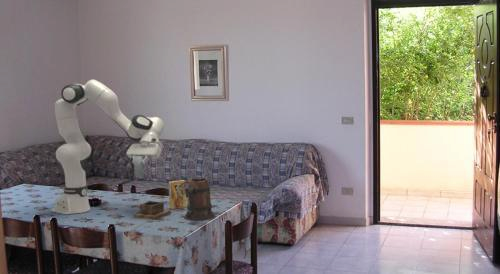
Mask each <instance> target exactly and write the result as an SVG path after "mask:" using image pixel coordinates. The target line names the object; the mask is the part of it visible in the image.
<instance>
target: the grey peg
mask: <svg viewBox="0 0 500 274" xmlns="http://www.w3.org/2000/svg"><path fill="white" fill-rule="evenodd" d="M142 160H143V158H142V156H136V157H134V164H133V165H134V175H135V178H140V179H141V178H144V177H145V176H144V175H145V174H144V164H142V163H141V161H142Z"/></svg>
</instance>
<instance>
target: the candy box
mask: <svg viewBox="0 0 500 274" xmlns="http://www.w3.org/2000/svg"><path fill="white" fill-rule="evenodd" d="M186 182H187V181H186V180H183V179H181V180H172V181H168V201H169V209H171V210H177V209H182V208H184V209H185V208H187V190H186V189H187V187H186V185H187V184H186Z"/></svg>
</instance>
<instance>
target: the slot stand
mask: <svg viewBox="0 0 500 274" xmlns="http://www.w3.org/2000/svg"><path fill="white" fill-rule="evenodd" d="M168 215H171V210H166V209H165V207H164V202H162V201H153V200H150V201H146V202H144V203H140V204H139V212H136V213H134V214H133V218H137V219H145V220H147V219H148V220H157V219H160V218H163V217H165V216H168Z"/></svg>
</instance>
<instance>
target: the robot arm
mask: <svg viewBox="0 0 500 274" xmlns="http://www.w3.org/2000/svg"><path fill="white" fill-rule="evenodd" d="M60 95H61V98H60V99H58V100H56V102H55V103H54V113H55V114H54V115H55V120H56V124H57V129H58V134H59V135H60V136H61V137H62V138H63V139H64V141H65V143H64V144H61V146H59V147H58V148H57V149H56V151H55V158H56V160H57V161H58V162H59V163H60V164H61V167H62V169H63V172H64V173H63V174H64V179H65V180H64V181H65V187H62V188H61V189H62V191H63V193H62V194H61V195H59V197H58V198H57V199H56V200H55V204H54V207H53V208H52V209H50V211H51V212H53V213H58V214H60V215H61V214H62V215H72V214H82V213H86V212H89V211H91V209H92V208H91V205H90V201H89V196H88V185H87V179H86V178H87V177H86V176H87V175H86V171H85V169H83V167H82V165H81V161H83V160H85V159H86V158H88V157H90V155H91V153H92V147H91V145H90V143H88V141H87V140H86V139H85V137H84V136H83V134H82V131H81V130H80V129H81V128H80V126H79V125H80V124H79V120H78V116H77V112H76V107H77V106H78V107H79V106H80V105H82V104H83V103H86V102H87V101H88V100H90V101H92V102H93V103H95V104H96V105H97V106H98V107H99V108H100V109H102V110H103V112H105V113H106V114H107V116H108V117H109V118H110V119H111V120H112V121H113V122H115V124H117V125H118V126H119V127H120V128H121V129H122V130H123V131H124V132H125V134H126V136H127V137H128V139H130V140H131V141H132V142H135V143H133V144H131V145H130V146H129V147H128V150H126V153H125V154H126V155H127V157H128V158H131V159H132V164H133V165H134V157H136V156H142V161H141V163H142V164H143V165H145V164H146V163H147V162H148V161H149V160H150V159H158V158H159V157H160V156H161V154H162V150H163V148H164V145H163V143H162V142H161V141H160V140H159V139H160V138H161V136H162V134H163V131H164V128H165V122H164V121H163V119H162V118H160V117H158V116H152V117H149V116H145V115H142V114H136V115H134V116H133V117H132V119H131V120H130V119H129V118H128V117H126V115H124V113H122V110H121V109H120V105H119V98H118V96H117V94H116V93H115V92H114V91H113V90H112V89H110V88H109V87H107V86H106V85H105V84H103V82H100V81H99V80H96V79H90V80H88V81H87V82H85V84H84V83H83V84H81V83H69V84H67V85H65V86H63V88H62V89H61V93H60Z"/></svg>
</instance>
